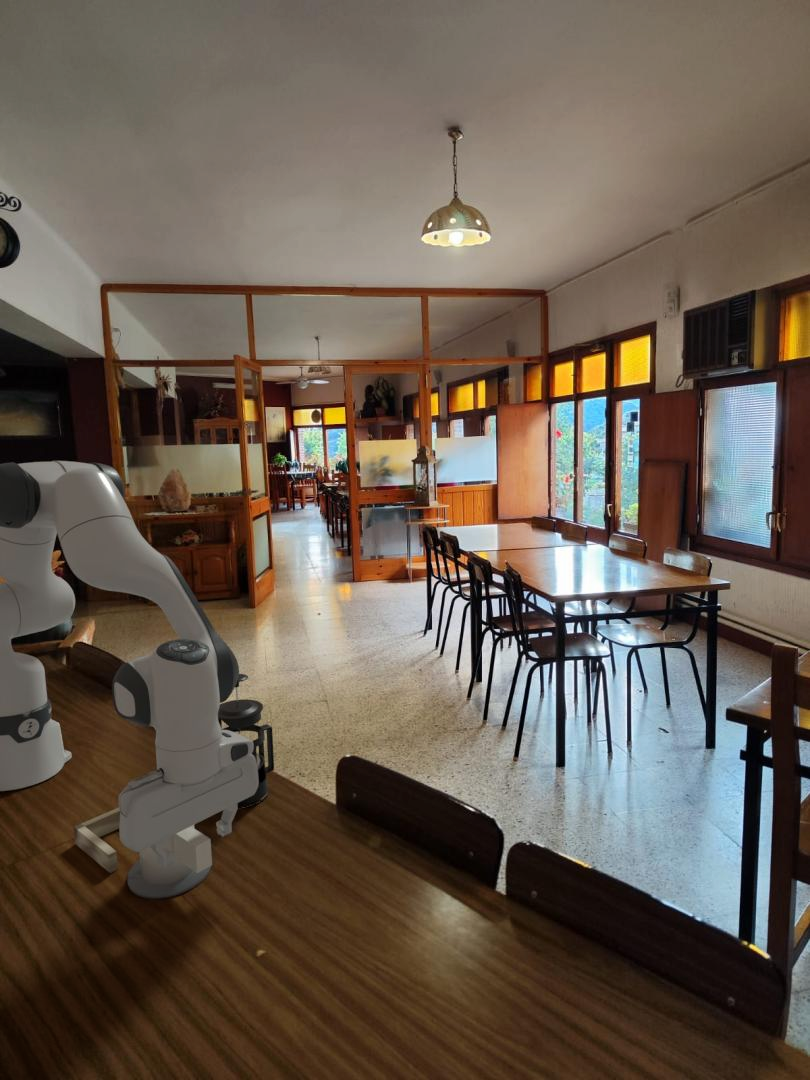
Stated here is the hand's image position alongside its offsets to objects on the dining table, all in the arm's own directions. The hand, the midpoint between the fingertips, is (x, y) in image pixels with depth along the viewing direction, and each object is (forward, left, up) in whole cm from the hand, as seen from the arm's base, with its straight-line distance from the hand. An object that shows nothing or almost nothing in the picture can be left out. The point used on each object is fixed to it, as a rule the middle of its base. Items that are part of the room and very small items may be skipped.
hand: (196, 848), depth 94 cm
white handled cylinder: (-5, 0, -6) cm, 8 cm away
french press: (-18, +21, -7) cm, 29 cm away
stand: (-21, 0, -7) cm, 22 cm away
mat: (-8, 0, -7) cm, 11 cm away
